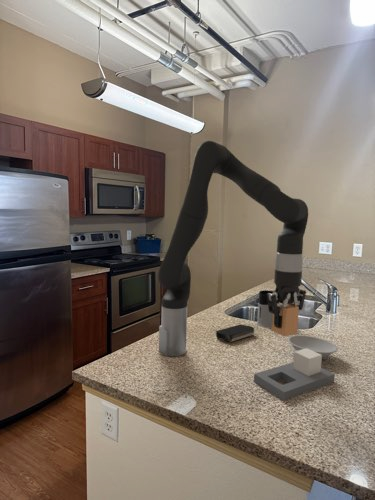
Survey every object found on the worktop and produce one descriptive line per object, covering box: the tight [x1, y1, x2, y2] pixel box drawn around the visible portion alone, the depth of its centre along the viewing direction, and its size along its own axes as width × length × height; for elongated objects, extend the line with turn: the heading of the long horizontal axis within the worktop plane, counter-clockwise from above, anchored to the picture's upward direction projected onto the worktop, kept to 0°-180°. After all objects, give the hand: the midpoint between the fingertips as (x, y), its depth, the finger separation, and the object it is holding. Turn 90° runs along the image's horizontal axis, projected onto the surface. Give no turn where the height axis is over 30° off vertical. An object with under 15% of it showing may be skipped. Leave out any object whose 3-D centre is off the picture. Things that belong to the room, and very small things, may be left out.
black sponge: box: [215, 324, 255, 343], centre depth 141 cm, size 16×8×4 cm, turn 129°
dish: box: [287, 334, 339, 358], centre depth 123 cm, size 18×14×5 cm
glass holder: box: [245, 290, 275, 328], centre depth 156 cm, size 9×14×15 cm, turn 95°
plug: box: [271, 302, 300, 337], centre depth 99 cm, size 5×5×8 cm
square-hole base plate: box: [253, 348, 336, 401], centre depth 104 cm, size 22×12×8 cm, turn 121°
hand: (284, 325), depth 100 cm, fingers closed on plug, 5 cm apart
